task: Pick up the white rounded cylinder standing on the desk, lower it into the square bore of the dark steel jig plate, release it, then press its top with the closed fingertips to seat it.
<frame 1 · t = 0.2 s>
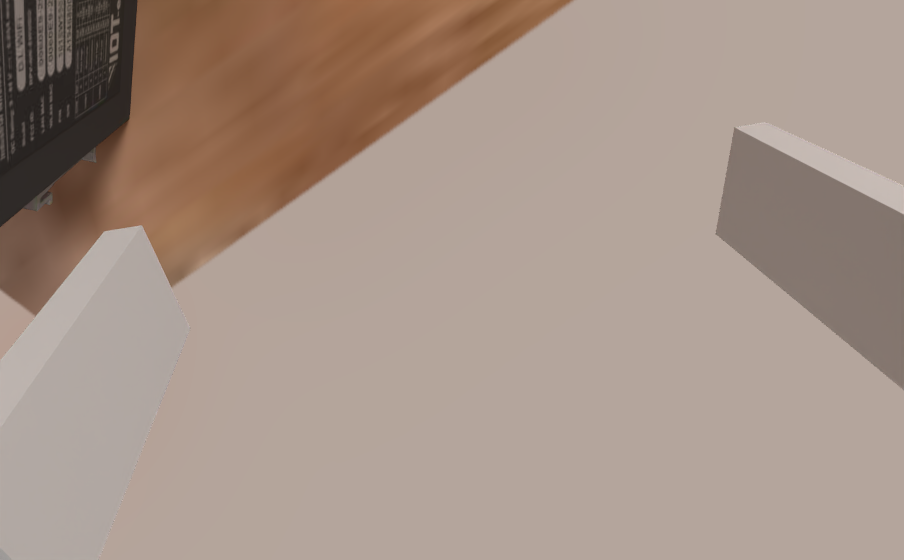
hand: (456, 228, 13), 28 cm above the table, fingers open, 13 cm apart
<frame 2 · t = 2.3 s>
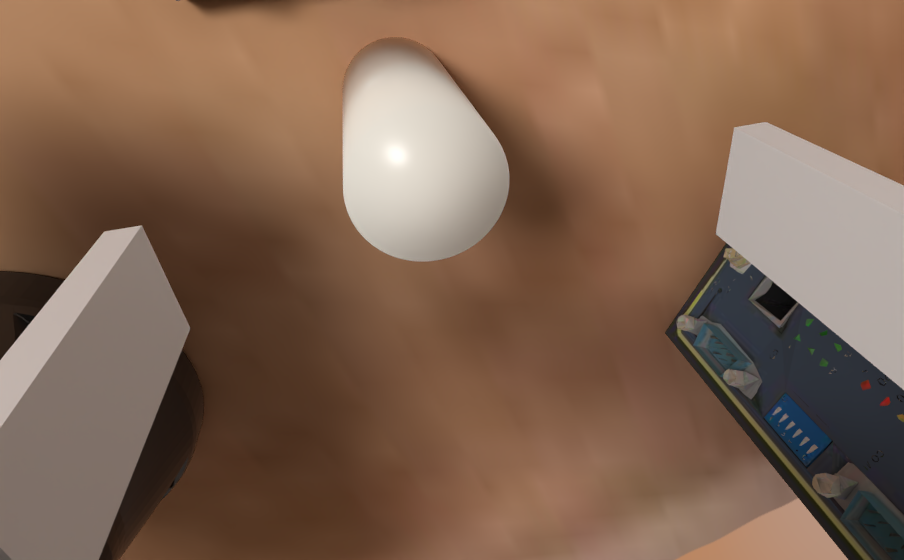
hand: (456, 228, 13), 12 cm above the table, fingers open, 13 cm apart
white rounded cylinder: (396, 94, 23), on the table
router: (795, 303, 34), on the table
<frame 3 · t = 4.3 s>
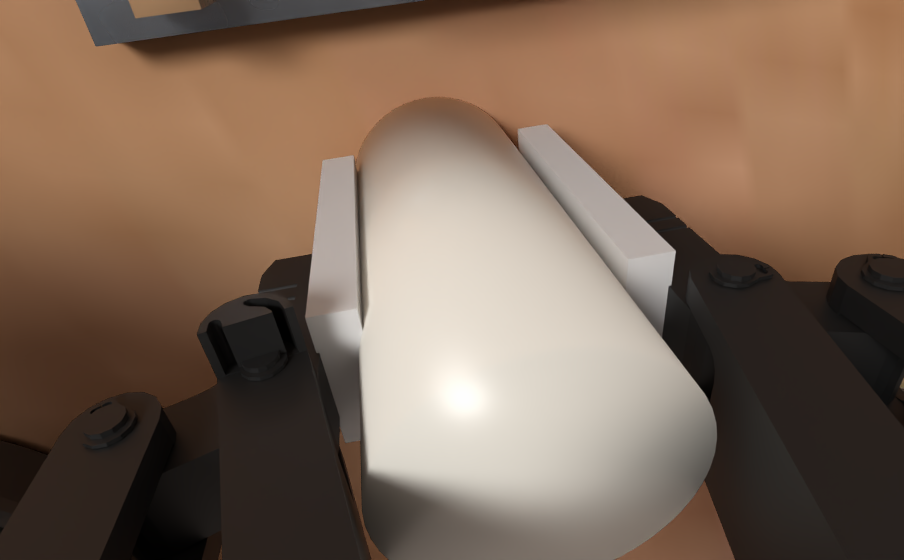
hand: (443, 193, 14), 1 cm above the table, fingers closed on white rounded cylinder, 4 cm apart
white rounded cylinder: (436, 179, 15), on the table, touching gripper
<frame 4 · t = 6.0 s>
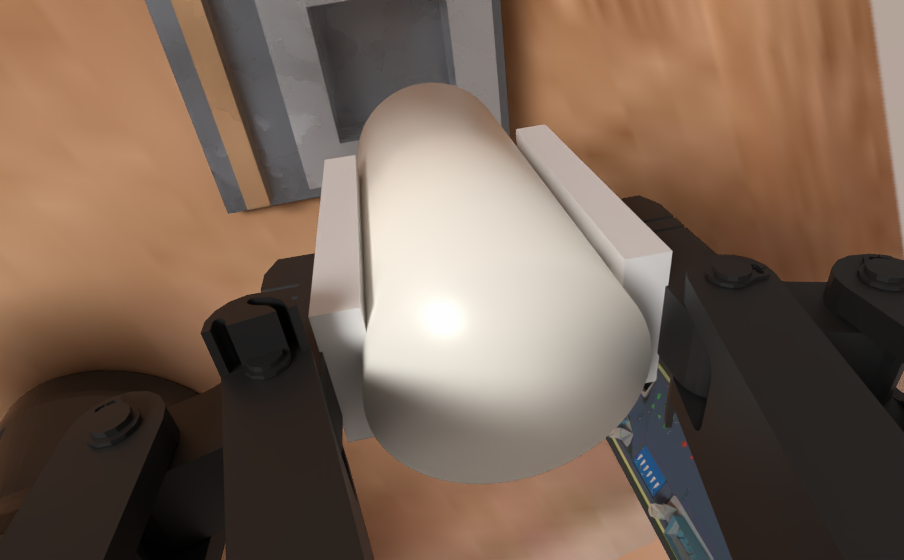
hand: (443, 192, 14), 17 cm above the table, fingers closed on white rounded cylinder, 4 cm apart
white rounded cylinder: (431, 158, 17), point 14 cm above the table, touching gripper
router: (681, 366, 44), on the table
jig: (345, 61, 28), on the table
when the fingers open (4 cm above the table, at t = 7.9 s): white rounded cylinder stays where it is, resting on jig.
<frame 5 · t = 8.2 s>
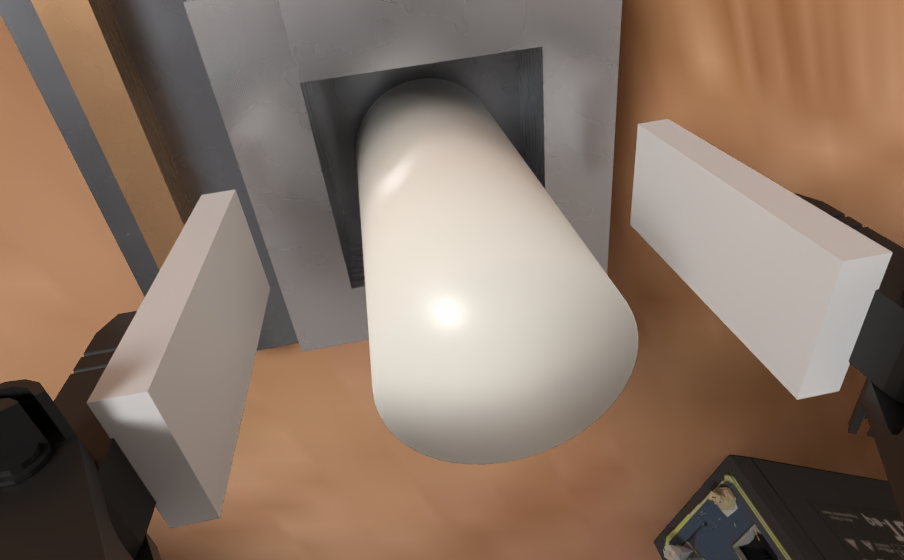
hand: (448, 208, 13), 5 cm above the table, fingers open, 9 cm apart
white rounded cylinder: (427, 151, 17), point 1 cm above the table, touching jig
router: (782, 509, 34), on the table
jig: (362, 148, 18), on the table
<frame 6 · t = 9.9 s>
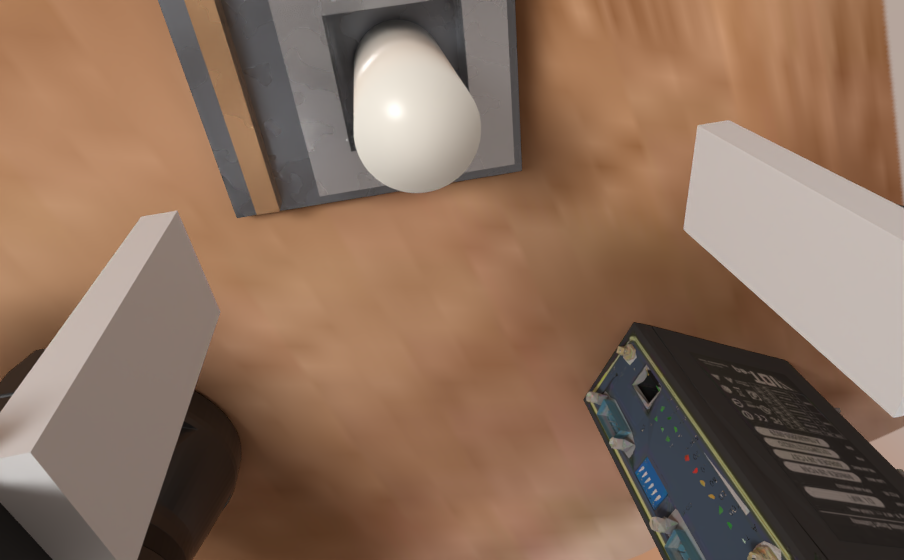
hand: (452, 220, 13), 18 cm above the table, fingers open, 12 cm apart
white rounded cylinder: (398, 68, 27), point 1 cm above the table, touching jig
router: (684, 377, 44), on the table
jig: (358, 68, 28), on the table
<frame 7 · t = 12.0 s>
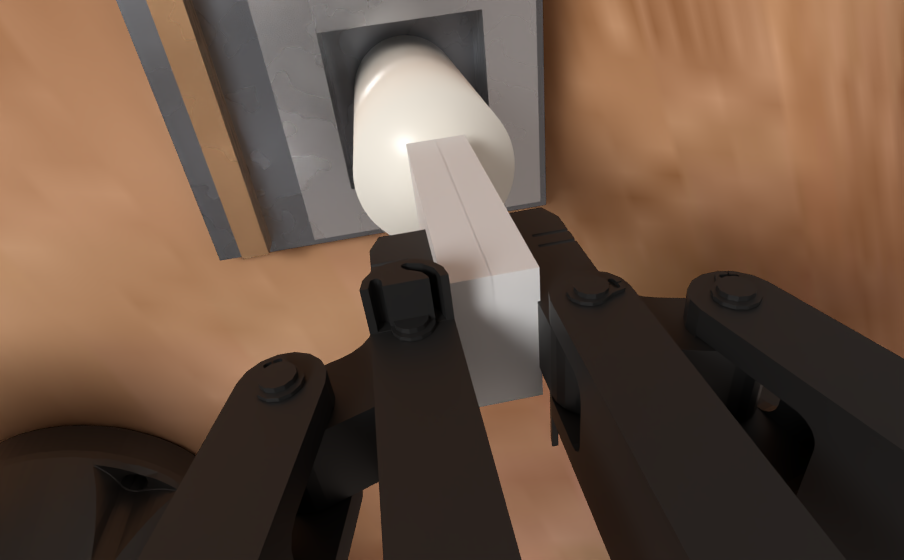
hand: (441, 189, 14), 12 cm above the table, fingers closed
white rounded cylinder: (406, 91, 23), point 1 cm above the table, touching jig
jig: (359, 91, 24), on the table
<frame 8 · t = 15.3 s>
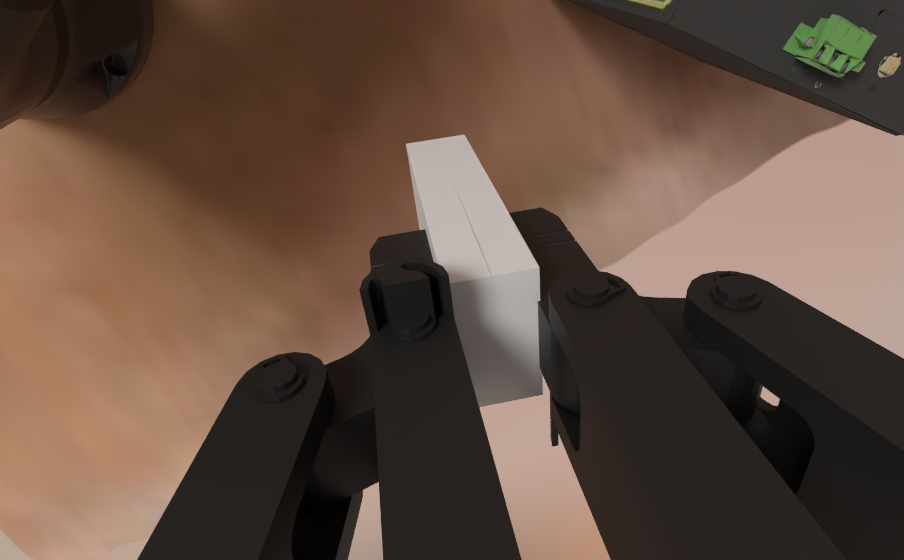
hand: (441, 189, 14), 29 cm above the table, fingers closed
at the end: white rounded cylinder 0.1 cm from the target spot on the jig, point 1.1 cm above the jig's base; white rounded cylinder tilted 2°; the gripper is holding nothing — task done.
